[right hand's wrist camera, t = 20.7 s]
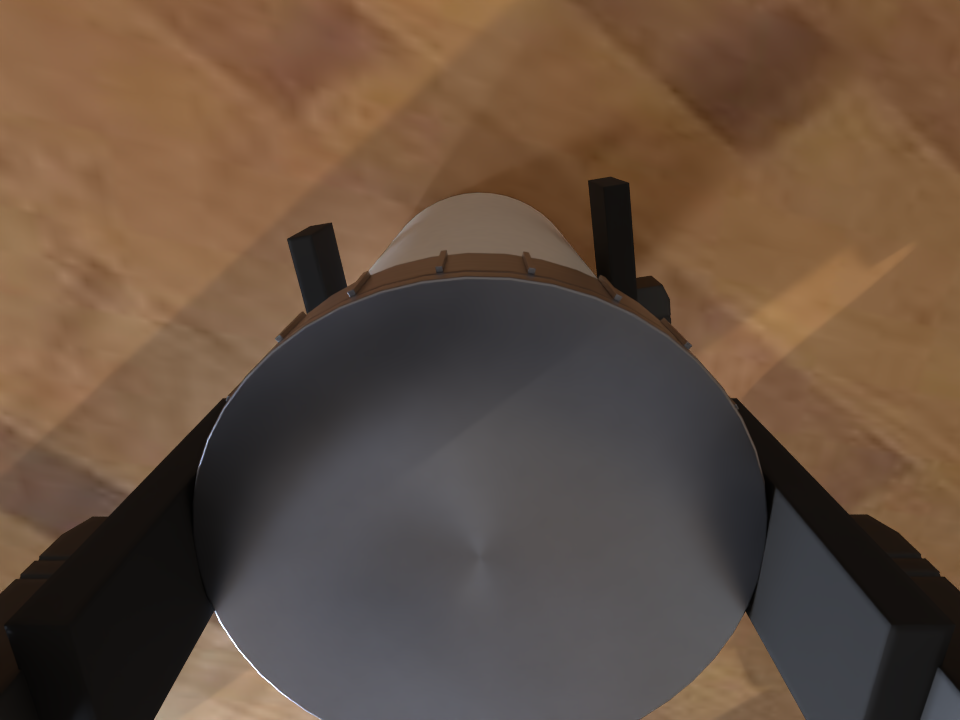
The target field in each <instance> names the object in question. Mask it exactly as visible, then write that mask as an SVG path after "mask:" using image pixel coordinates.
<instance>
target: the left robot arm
mask: <svg viewBox="0 0 960 720" xmlns="http://www.w3.org/2000/svg"><path fill="white" fill-rule="evenodd" d="M588 185H589V195H590V206H591V216H592V227H593V237H594V248H595V258H596V269H597V278H599V276H600V275H602V276H604V277H606V279H607V280H608V281H609V282H610V283H611V284H612V285H613V287H614V288H616V289H617V290H619V291H621V292H622V293H624V294H625V295H627V296H629V297H630V298H632V299H633V300H635V301H637V302H638V303H639V304H641V305H642V306H643V307H644V308H645V309H647V310H648V311H649V312H650V313H651V314H653V315H654V316H655V317H656V318H657V319H658V320H660V321H661V320H662V319H663V318H665V319H666V320H667V321H668V322H669V323H670V324H671V318H670V315H671V313H670V299H669V297H668V295H667V293H666V291H665V289H664V287H663V285H662V284H661V283H659V282H658V281H657V280H656V279H655V278H653V277H652V276H646V277H639V278H636V271H635V257H634V243H633V230H632V216H631V202H630V188H629V183H628V182H625V181H622V180H619V179H616V178H613V177H606V178H600V179H594V180H588ZM287 241H288V244H289V248H290V252H291V256H292V259H293V263H294V267H295V271H296V274H297V278H298V282H299V286H300V289H301V293H302V297H303V301H304V304H305V308H306V312H307V314H308V313H309V312H310V311H312V310H313V309H314V308H316V307H317V306H318V305H320V304H321V303H322V302H324V301H325V300H326V299H328V298H329V297H330V296H332V295H333V294H335V293H337V292H339V291H341V290H342V289H344V288H346V287H347V284H346V280H345V276H344V272H343V267H342V263H341V259H340V255H339V251H338V247H337V242H336V238H335V234H334V230H333V226H332V223H326V224H320V225H314V226H310V227H308V228H306V229H304V230H302V231H301V232H299V233H297V234H295V235H293V236H291V237H290V238H288V239H287Z"/></svg>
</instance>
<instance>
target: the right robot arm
mask: <svg viewBox="0 0 960 720" xmlns="http://www.w3.org/2000/svg"><path fill="white" fill-rule="evenodd" d="M731 399H732V400H733V401H734V402H735V403H736V404H737V406H738V408H739V409H738V412H739V413H740V415H741V416H742V418H743V420H744V423H745V425H746V427H747V430H748V432H749V434H750V436H751V439H752V441H753V443H754V445H755V448H756V450H757V454H758V458H759V462H760V466H761V470H762V473H763V477H764V481H765V490H766V501H767V511H768V521H767V536H766V544H765V550H764V555H763V560H762V565H761V570H760V575H759V579H758V582H757V584H756V587H755V590H754V592H753V595H752V597H751V600H750V603H749V605H748V607H747V609H746V613H747V615H748V616H749V618H750V620H751V622H752V624H753V625H754V627H755V629H756V631H757V633H758V634H759V636H760V638H761V640H762V642H763V643H764V645H765V647H766V649H767V651H768V652H769V654H770V656H771V658H772V660H773V661H774V663H775V665H776V667H777V669H778V670H779V672H780V674H781V676H782V678H783V679H784V681H785V683H786V685H787V687H788V688H789V690H790V692H791V694H792V696H793V697H794V699H795V701H796V703H797V705H798V706H799V708H800V710H801V712H802V714H803V715H804V717H805V719H806V720H960V591H959V590H958V589H957V588H956V587H955V586H954V585H953V584H952V583H951V582H949V581H948V580H947V579H946V578H945V577H941V576H940V572H939V571H938V570H937V569H936V568H935V567H934V566H933V565H932V564H931V563H930V562H929V561H928V560H926V559H925V558H921V554H920V553H919V552H918V551H917V550H916V549H915V548H914V547H913V546H912V545H911V544H910V543H909V542H908V541H907V540H906V539H904V538H903V537H902V536H901V535H900V534H899V533H898V532H896V531H895V530H893V529H891V528H890V527H888V526H886V525H884V524H883V523H881V522H879V521H878V520H876V519H874V518H872V517H871V516H869V515H849V514H848V513H847V512H846V511H845V510H844V509H843V508H842V507H841V506H840V505H839V504H838V503H837V502H836V501H835V500H834V498H833V497H832V496H831V495H830V494H829V493H828V492H827V491H826V490H825V489H824V488H823V487H822V486H821V485H820V484H819V483H818V482H817V481H816V480H815V479H814V478H813V477H812V476H811V475H810V474H809V473H808V472H807V471H806V470H805V469H804V467H803V466H802V465H801V464H800V463H799V462H798V461H797V460H796V459H795V458H794V457H793V456H792V455H791V454H790V453H789V452H788V451H787V450H786V449H785V448H784V447H783V446H782V445H781V444H780V443H779V442H778V441H777V440H776V439H775V437H774V436H773V435H772V434H771V433H770V432H769V431H768V430H767V429H766V428H765V427H764V426H763V425H762V424H761V423H760V422H759V421H758V420H757V419H756V418H755V417H754V416H753V415H752V414H751V413H750V412H749V411H748V410H747V409H746V408H745V406H744V405H743V404H742V403H741V402H740V401H739V400H738V399H737V398H731ZM225 400H226V398H223V399H222V400H221V401H220V402H219V403H218V404H217V405H216V406H215V407H214V408H213V409H212V410H211V411H210V412H209V413H208V414H207V415H206V416H205V417H204V418H203V420H202V421H201V422H200V423H199V424H198V425H197V426H196V427H195V428H194V429H193V430H192V431H191V432H190V433H189V434H188V435H187V436H186V437H185V438H184V439H183V440H182V441H181V442H180V443H179V444H178V445H177V446H176V447H175V448H174V449H173V451H172V452H171V453H170V454H169V455H168V456H167V457H166V458H165V459H164V460H163V461H162V462H161V463H160V464H159V465H158V466H157V467H156V468H155V469H154V470H153V471H152V472H151V473H150V474H149V475H148V476H147V477H146V478H145V479H144V480H143V482H142V483H141V484H140V485H139V486H138V487H137V488H136V489H135V490H134V491H133V492H132V493H131V494H130V495H129V496H128V497H127V498H126V499H125V500H124V501H123V502H122V503H121V504H120V505H119V506H118V507H117V508H116V509H115V510H114V511H113V513H112V514H111V515H110V516H109V517H91V518H89V519H88V520H86V521H84V522H83V523H81V524H79V525H78V526H76V527H74V528H73V529H71V530H69V531H67V532H66V533H64V534H62V535H61V536H60V537H59V538H58V539H57V540H56V541H55V542H54V543H53V544H52V545H51V546H50V547H49V548H48V549H46V550H45V551H44V552H43V553H42V554H41V555H40V556H39V560H38V561H34V562H33V563H32V564H31V565H30V566H29V567H28V568H27V569H26V570H25V571H24V572H23V573H22V574H21V577H20V579H15V580H14V581H13V582H12V583H11V584H10V585H9V586H8V587H7V588H6V589H5V590H4V591H3V592H2V593H1V594H0V720H154V718H155V716H156V715H157V713H158V711H159V709H160V707H161V706H162V704H163V702H164V700H165V698H166V697H167V695H168V693H169V691H170V689H171V688H172V686H173V684H174V682H175V680H176V679H177V677H178V675H179V673H180V671H181V670H182V668H183V666H184V664H185V662H186V661H187V659H188V657H189V655H190V653H191V652H192V650H193V648H194V646H195V644H196V643H197V641H198V639H199V637H200V635H201V634H202V632H203V630H204V628H205V626H206V625H207V623H208V621H209V619H210V617H211V616H212V614H213V612H214V609H213V607H212V605H211V603H210V601H209V599H208V597H207V594H206V591H205V588H204V585H203V582H202V578H201V575H200V572H199V567H198V562H197V556H196V551H195V545H194V540H193V525H192V502H193V495H194V489H195V482H196V476H197V470H198V466H199V463H200V460H201V457H202V454H203V451H204V448H205V445H206V442H207V439H208V436H209V434H210V432H211V430H212V429H213V427H214V425H215V423H216V421H217V419H218V417H219V415H220V413H221V411H222V409H223V407H224V405H225V404H226V403H227V401H225Z"/></svg>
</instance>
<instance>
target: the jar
mask: <svg viewBox="0 0 960 720" xmlns="http://www.w3.org/2000/svg"><path fill="white" fill-rule="evenodd" d="M443 250H447V254H448V255H452V254H461V253H499V254H511V255H517V256H522V254H523V251H524V252H529V254H530V256H531V258H536V259H542V260H545V261H549V262H552V263H556V264H559V265H562V266H566V267H569V268H573V269H576V270H578V271H581V272H583V273H585V274H587V275H590V276H592V277H594V278H596V279H598V278H597V277H596V276H595V275H594V273H593V272H592V271H591V270H590V269H589V267H588V266H587V265H586V264H585V262H584V261H583V260H582V259H581V257H580V256H579V255H578V254H577V252H576V251H575V250H574V249H573V248H572V246H571V245H570V244H569V243H568V241H567V240H566V239H565V238H564V236H563V235H562V234H561V233H560V231H559V230H558V229H557V228H556V227H555V226H554V224H553V223H552V222H551V221H550V220H548V219H547V218H546V217H545V216H544V215H543V214H542V213H540V212H539V211H537V210H536V209H534V208H533V207H531V206H529V205H527V204H525V203H523V202H521V201H519V200H517V199H513V198H510V197H507V196H504V195H498V194H493V193H468V194H461V195H457V196H452V197H449V198H447V199H444V200H441V201H438V202H437V203H435V204H433V205H431V206H429V207H427V208H426V209H424V210H423V211H421V212H420V213H419V214H417V215H416V216H415V217H414V218H413V219H412V220H411V221H410V222H409V223H407V224H406V225H405V227H404V228H403V229H402V230H401V232H400V233H399V234H398V235H397V237H396V238H395V239H394V240H393V241H392V243H391V244H390V245H389V246H388V248H387V249H386V250H385V251H384V253H383V254H382V255H381V256H380V258H379V259H378V260H377V261H376V262H375V264H374V265H373V266H372V267H371V269H370V270H369V273H370V275H372V274H375V273H377V272H380V271H383V270H385V269H388V268H390V267H393V266H395V265H399V264H403V263H407V262H412V261H416V260H420V259H424V258H428V257H433V256H439V255H440V252H441V251H443Z"/></svg>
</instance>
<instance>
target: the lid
mask: <svg viewBox="0 0 960 720" xmlns="http://www.w3.org/2000/svg"><path fill="white" fill-rule="evenodd" d="M275 339H276V340H277V341H278V343H277V344H276V346H275V347H274V348H273V349H272V350H271V351H270V352H269V353H268V354H267V355H266V356H265V357H264V358H263V359H262V360H261V361H260V362H259V363H258V364H257V365H256V366H255V367H254V368H253V369H252V370H251V371H250V372H249V373H248V375H247V376H246V377H245V378H244V379H243V381H242V382H241V383H240V384H239V385H238V386H237V387H236V388H235V389H234V390H233V391H232V392H231V393H230V394H229V395H228V397H227V398H226V400H225V401H227V403H226V404H225V405H224V407H223V409H222V411H221V413H220V415H219V417H218V419H217V421H216V423H215V425H214V427H213V429H212V430H211V432H210V434H209V436H208V439H207V442H206V445H205V448H204V451H203V454H202V457H201V460H200V463H199V466H198V470H197V476H196V482H195V489H194V495H193V502H192V525H193V540H194V545H195V551H196V556H197V562H198V567H199V572H200V575H201V578H202V582H203V585H204V588H205V591H206V594H207V597H208V599H209V601H210V603H211V605H212V607H213V609H214V611H215V613H216V615H217V617H218V619H219V621H220V623H221V625H222V626H223V628H224V629H225V631H226V632H227V634H228V635H229V637H230V638H231V640H232V641H233V643H234V644H235V646H236V647H237V649H238V650H239V651H240V652H241V653H242V655H243V656H244V657H245V658H246V659H247V660H248V661H249V663H250V664H251V665H252V666H253V667H254V668H255V669H256V671H257V672H258V673H259V674H260V675H261V676H263V677H264V678H265V679H266V680H267V681H268V682H269V683H270V684H272V685H273V686H274V687H275V688H276V689H277V690H278V691H279V692H280V693H282V694H283V695H284V696H286V697H287V698H289V699H290V700H291V701H293V702H294V703H296V704H297V705H299V706H300V707H301V708H303V709H304V710H306V711H307V712H309V713H310V714H312V715H314V716H316V717H318V718H320V719H321V720H639V719H641V718H643V717H644V716H646V715H648V714H649V713H651V712H652V711H654V710H655V709H657V708H658V707H660V706H661V705H663V704H665V703H666V702H668V701H669V700H670V699H672V698H673V697H674V696H675V695H676V694H678V693H679V692H680V691H681V690H682V689H684V688H685V687H686V686H687V685H689V684H690V683H691V682H692V681H693V680H694V679H695V678H696V677H697V676H698V675H699V674H700V673H701V672H702V671H703V670H704V669H705V668H706V667H707V666H708V665H709V664H710V663H711V662H712V661H713V660H714V658H715V657H716V656H717V654H718V653H719V652H720V650H721V649H722V648H723V646H724V645H725V644H726V642H727V641H728V640H729V638H730V637H731V636H732V634H733V633H734V631H735V629H736V627H737V626H738V624H739V622H740V620H741V618H742V616H743V615H744V613H745V611H746V609H747V607H748V605H749V603H750V600H751V597H752V595H753V592H754V590H755V587H756V584H757V582H758V579H759V575H760V570H761V565H762V560H763V555H764V550H765V544H766V536H767V521H768V511H767V501H766V490H765V481H764V477H763V473H762V470H761V466H760V462H759V458H758V454H757V450H756V448H755V445H754V443H753V441H752V439H751V436H750V434H749V432H748V430H747V427H746V425H745V423H744V420H743V418H742V416H741V415H740V413H739V412H738V409H739V408H738V406H737V404H736V403H735V402H734V401H733V400H732V399H731V398H730V397H729V396H728V395H727V393H726V392H725V390H724V389H723V387H722V386H721V385H720V384H719V383H718V381H717V380H716V379H715V378H714V377H713V376H712V375H711V374H710V372H709V371H708V370H707V369H706V368H705V367H704V366H703V365H702V363H701V362H700V361H699V360H698V359H697V358H696V357H695V356H694V355H693V354H692V353H691V352H690V351H689V350H688V349H690V348H691V347H692V345H691V344H690V343H689V342H688V341H687V340H686V339H685V338H684V337H683V336H682V335H681V334H680V333H679V332H678V331H677V330H676V329H675V328H674V327H673V326H672V325H671V324H670V323H669V322H668V321H667V320H666V319H665V318H663V319H662V320H661V321H660V320H658V319H657V318H656V317H655V316H654V315H653V314H651V313H650V312H649V311H648V310H647V309H645V308H644V307H643V306H642V305H641V304H639V303H638V302H637V301H635V300H633V299H632V298H630V297H629V296H627V295H625V294H624V293H622V292H621V291H619V290H617V289H616V288H614V287H613V285H612V284H611V283H610V282H609V281H608V280H607V279H606V277H604V276H602V275H600V276H599V278H598V279H596V278H594V277H592V276H590V275H587V274H585V273H583V272H581V271H578V270H576V269H573V268H569V267H566V266H562V265H559V264H556V263H552V262H549V261H545V260H542V259H536V258H531V256H530V254H529V252H524V251H523V254H522V256H517V255H511V254H499V253H461V254H452V255H448V254H447V250H443V251H441V252H440V255H439V256H433V257H428V258H424V259H420V260H416V261H412V262H407V263H403V264H399V265H395V266H393V267H390V268H388V269H385V270H383V271H380V272H377V273H375V274H372V275H370V273H369V271H367V272H364V273H363V274H362V275H361V276H360V278H359V279H358V280H357V281H356V282H355V283H353V284H351V285H350V286H348V287H346V288H344V289H342V290H341V291H339V292H337V293H335V294H333V295H332V296H330V297H329V298H328V299H326V300H325V301H324V302H322V303H321V304H320V305H318V306H317V307H316V308H314V309H313V310H312V311H310V312H309V313H308V314H305V313H304V312H301V313H300V314H299V315H298V316H297V317H296V318H295V319H294V320H293V321H292V322H291V323H290V324H289V325H288V326H287V327H286V328H285V329H284V330H283V331H282V332H281V333H280V334H279V335H278V336H277V337H276V338H275Z"/></svg>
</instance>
